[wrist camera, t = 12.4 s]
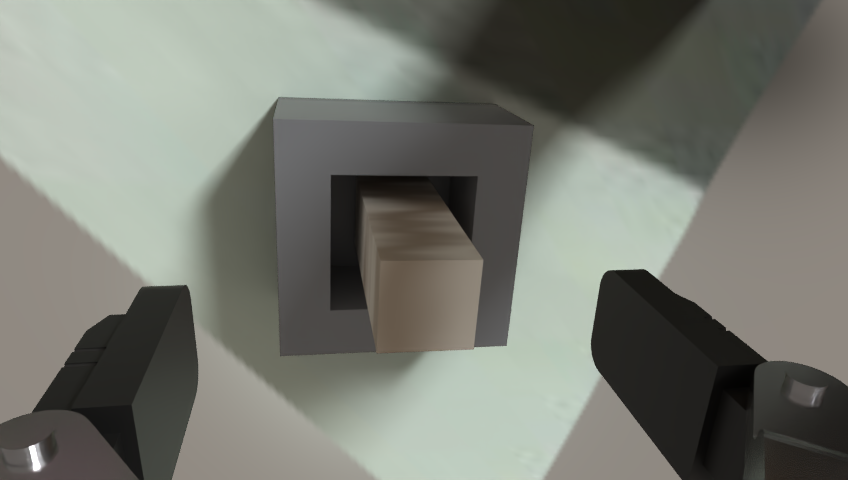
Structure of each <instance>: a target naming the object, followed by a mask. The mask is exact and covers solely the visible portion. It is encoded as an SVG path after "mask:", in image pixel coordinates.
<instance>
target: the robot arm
mask: <svg viewBox="0 0 848 480" xmlns="http://www.w3.org/2000/svg"><path fill="white" fill-rule="evenodd" d="M591 351H592V357H593V360H594V363H595V366H596V368H597V369H598V371H599V372H600V373H601V375H602V376H603V377H604V379H605V380H606V381H607V382H608V384H609V385H610V386H611V388H612V389H613V390H614V392H615V393H616V394H617V396H618V397H619V398H620V399H621V401H622V402H623V403H624V405H625V406H626V407H627V408H628V410H629V411H630V412H631V414H632V415H633V416H634V418H635V419H636V420H637V422H638V423H639V424H640V426H641V427H642V428H643V430H644V431H645V432H646V433H647V435H648V436H649V437H650V438H651V440H652V441H653V442H654V444H655V445H656V446H657V448H658V449H659V450H660V452H661V453H662V454H663V456H664V457H665V458H666V459H667V461H668V462H669V463H670V465H671V466H672V467H673V468H674V470H675V471H676V473H677V474H678V475H679V477H680V478H681V479H682V480H848V386H846V385H845V384H844V383H842V382H841V381H839V380H838V379H836V378H835V377H833V376H831V375H829V374H827V373H825V372H822V371H820V370H818V369H815V368H812V367H809V366H806V365H803V364H798V363H794V362H787V361H770V362H768V361H767V360H765V359H764V358H763V357H762V356H760V355H759V354H758V353H757V352H755V351H754V350H753V349H752V348H750V347H749V346H748V345H747V344H745V343H744V342H743V341H742V340H740V339H739V338H738V337H737V336H735V335H734V334H733V333H732V332H730V331H726V328H725V327H724V326H723V325H722V324H721V323H719V322H718V321H717V320H715V319H712V316H710V315H709V314H708V313H707V312H705V311H704V310H703V309H702V308H701V307H699V306H698V305H697V304H696V303H694V302H692V301H690V300H688V299H686V298H683V297H681V296H679V295H677V294H675V293H674V292H672V291H671V290H670V289H669V288H668V287H666V286H665V285H664V284H663V283H661V282H660V281H659V280H658V279H657V278H655V277H654V276H653V275H652V274H650V273H649V272H648V271H646V270H644V269H638V270H610V271H607V272H606V273H605V274H604V275H603V277H602V279H601V283H600V289H599V295H598V301H597V307H596V313H595V319H594V325H593V331H592V338H591ZM197 385H198V358H197V349H196V340H195V331H194V323H193V314H192V305H191V297H190V292H189V289H188V287H187V286H186V285H177V286H149V287H142V288H141V289H140V290H139V292H138V294H137V295H136V297H135V299H134V301H133V302H132V304H131V306H130V308H129V309H128V311H127V313H126V314H124V315H123V314H122V315H109V316H107V317H106V318H105V319H103V320H102V321H100V322H99V323H97V324H96V325H94V326H93V327H92V328H90V329H88V330H87V331H86V332H85V334H84V335H83V337H82V338H81V340H80V341H79V343H78V344H77V346H76V347H75V351H74V352H72V353H71V355H70V356H69V358H68V359H67V361H66V362H65V366H64V367H63V368H61V370H60V371H59V373H58V374H57V376H56V377H55V379H54V380H53V382H52V383H51V385H50V386H49V388H48V389H47V391H46V392H45V394H44V395H43V397H42V398H41V399H40V401H39V403H38V404H37V406H36V407H35V408H34V410H33V411H32V413H30V414H26V415H22V416H19V417H16V418H13V419H11V420H9V421H6V422H4V423H2V424H0V480H172V476H173V473H174V469H175V466H176V462H177V459H178V455H179V452H180V449H181V445H182V442H183V438H184V435H185V431H186V428H187V424H188V421H189V417H190V414H191V410H192V407H193V403H194V400H195V396H196V392H197Z"/></svg>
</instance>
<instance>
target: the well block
mask: <svg viewBox="0 0 848 480" xmlns="http://www.w3.org/2000/svg"><path fill="white" fill-rule="evenodd" d="M533 128H534V125H532V124H530V123H528V122H526V121H525V120H523V119H521V118H519V117H518V116H516V115H514V114H512V113H510V112H509V111H507V110H505V109H503V108H501V107H500V106H498V105H496V104H473V103H442V102H411V101H380V100H350V99H319V98H288V97H279V98H278V102H277V106H276V109H275V113H274V117H273V135H274V167H275V200H276V232H277V265H278V297H279V330H280V356H291V355H313V354H335V353H357V352H376V347H375V342H374V337H373V332H372V327H371V322H370V317H369V312H368V307H367V302H366V297H365V292H364V287H363V282H362V277H361V272H360V267H359V262H358V257H357V252H356V248H355V243H354V241H355V202H356V175H361V176H425V177H427V178H428V179H429V181H430V182H431V183H432V185H433V186H434V188H435V189H436V191H437V192H438V194H439V195H440V197H441V198H442V200H443V201H444V203H445V204H446V206H447V207H448V208H449V210H450V211H451V213H452V214H453V216H454V217H455V219H456V220H457V222H458V223H459V225H460V226H461V228H462V229H463V231H464V232H465V234H466V235H467V236H468V238H469V239H470V241H471V242H472V244H473V245H474V247H475V248H476V250H477V251H478V253H479V254H480V256H481V257H482V259H483V269H482V278H481V287H480V296H479V305H478V314H477V324H476V333H475V342H474V347H489V346H507V338H508V330H509V322H510V314H511V305H512V297H513V289H514V281H515V273H516V265H517V257H518V249H519V241H520V233H521V225H522V217H523V209H524V201H525V193H526V185H527V176H528V168H529V160H530V152H531V144H532V136H533Z"/></svg>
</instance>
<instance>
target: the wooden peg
mask: <svg viewBox="0 0 848 480" xmlns="http://www.w3.org/2000/svg"><path fill="white" fill-rule="evenodd" d="M354 243H355V248H356V252H357V257H358V262H359V267H360V272H361V277H362V282H363V287H364V292H365V297H366V302H367V307H368V312H369V317H370V322H371V327H372V332H373V337H374V342H375V347H376V352H377V353H395V352H420V351H445V350H470V349H474V342H475V333H476V324H477V314H478V305H479V296H480V287H481V278H482V269H483V259H482V257H481V256H480V254H479V253H478V251H477V250H476V248H475V247H474V245H473V244H472V242H471V241H470V239H469V238H468V236H467V235H466V234H465V232H464V231H463V229H462V228H461V226H460V225H459V223H458V222H457V220H456V219H455V217H454V216H453V214H452V213H451V211H450V210H449V208H448V207H447V206H446V204H445V203H444V201H443V200H442V198H441V197H440V195H439V194H438V192H437V191H436V189H435V188H434V186H433V185H432V183H431V182H430V181H429V179H428V178H427V177H425V176H361V175H356V202H355V241H354Z"/></svg>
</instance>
